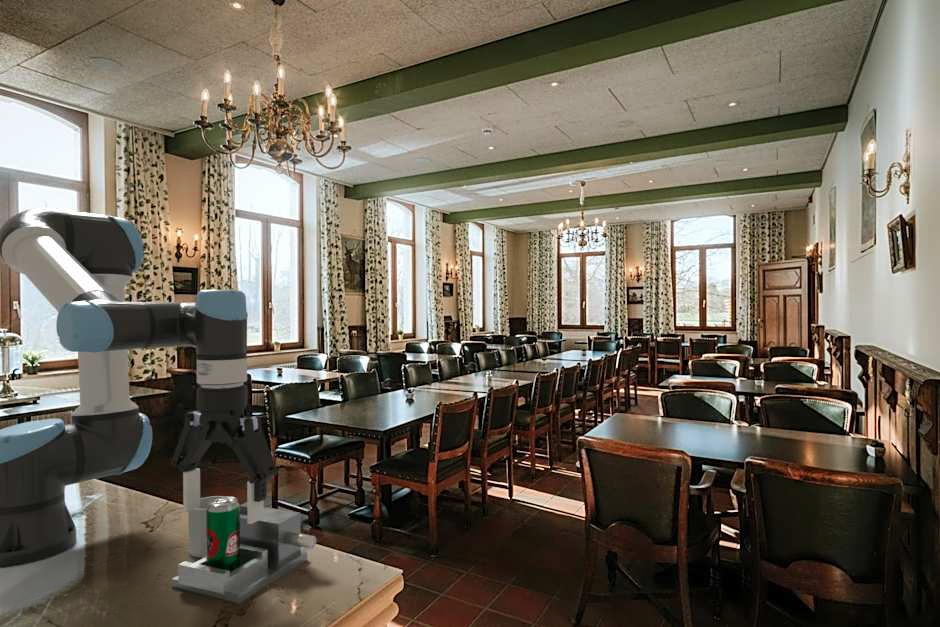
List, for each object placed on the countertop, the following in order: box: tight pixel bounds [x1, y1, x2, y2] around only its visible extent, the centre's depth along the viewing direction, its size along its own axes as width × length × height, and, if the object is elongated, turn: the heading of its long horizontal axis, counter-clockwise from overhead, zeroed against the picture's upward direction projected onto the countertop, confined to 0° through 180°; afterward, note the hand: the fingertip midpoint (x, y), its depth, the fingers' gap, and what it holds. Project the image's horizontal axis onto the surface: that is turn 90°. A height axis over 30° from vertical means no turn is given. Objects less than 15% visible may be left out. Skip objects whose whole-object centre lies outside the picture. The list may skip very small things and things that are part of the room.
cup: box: [187, 495, 226, 558], centre depth 104 cm, size 7×10×9 cm
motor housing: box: [171, 501, 317, 604], centre depth 93 cm, size 18×17×10 cm
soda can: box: [206, 496, 241, 572], centre depth 90 cm, size 5×5×12 cm
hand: (222, 515), depth 90 cm, fingers open, 13 cm apart
